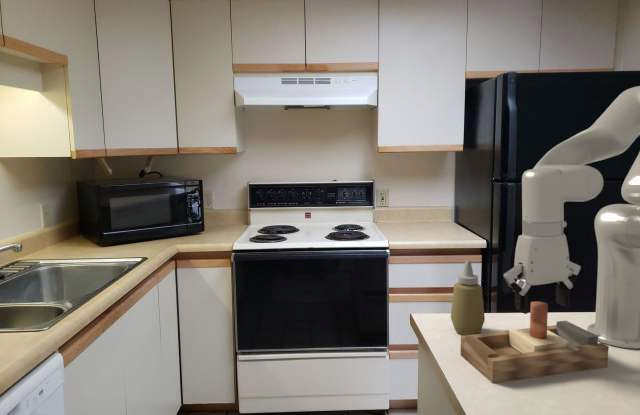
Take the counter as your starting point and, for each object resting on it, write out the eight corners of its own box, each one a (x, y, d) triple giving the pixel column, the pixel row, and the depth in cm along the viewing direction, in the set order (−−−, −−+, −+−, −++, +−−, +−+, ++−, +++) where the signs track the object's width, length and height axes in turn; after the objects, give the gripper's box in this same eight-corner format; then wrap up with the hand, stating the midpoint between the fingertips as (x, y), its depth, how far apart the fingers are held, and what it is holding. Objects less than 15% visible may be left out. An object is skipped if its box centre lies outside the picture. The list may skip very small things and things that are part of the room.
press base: (563, 342, 98) (564, 317, 98) (607, 366, 87) (608, 338, 86) (460, 355, 94) (460, 329, 93) (492, 383, 82) (493, 353, 81)
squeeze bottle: (487, 339, 101) (488, 265, 99) (452, 337, 103) (452, 265, 101) (481, 326, 109) (482, 257, 107) (449, 324, 111) (449, 257, 109)
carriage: (541, 340, 95) (542, 296, 94) (568, 356, 87) (570, 308, 86) (509, 344, 93) (510, 299, 92) (533, 361, 86) (535, 312, 84)
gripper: (565, 221, 93) (564, 297, 95) (493, 229, 89) (494, 307, 92) (593, 227, 85) (592, 309, 87) (516, 236, 82) (517, 320, 84)
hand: (542, 308), depth 90 cm, fingers open, 9 cm apart
